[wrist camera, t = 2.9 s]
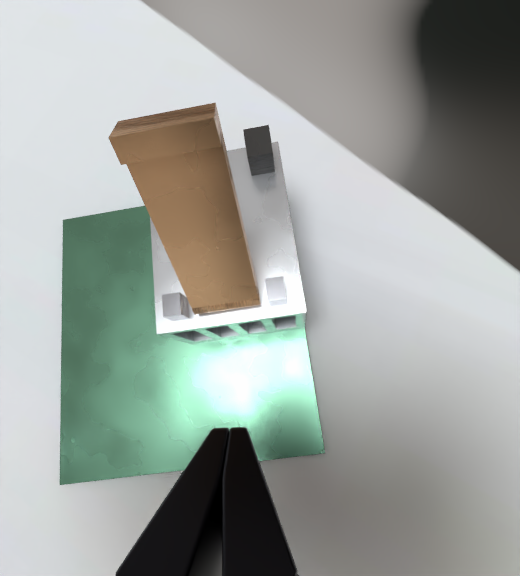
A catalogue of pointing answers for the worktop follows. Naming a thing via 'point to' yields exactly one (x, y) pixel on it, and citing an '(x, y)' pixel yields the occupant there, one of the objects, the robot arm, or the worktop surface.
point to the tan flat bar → (192, 203)
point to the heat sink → (182, 340)
